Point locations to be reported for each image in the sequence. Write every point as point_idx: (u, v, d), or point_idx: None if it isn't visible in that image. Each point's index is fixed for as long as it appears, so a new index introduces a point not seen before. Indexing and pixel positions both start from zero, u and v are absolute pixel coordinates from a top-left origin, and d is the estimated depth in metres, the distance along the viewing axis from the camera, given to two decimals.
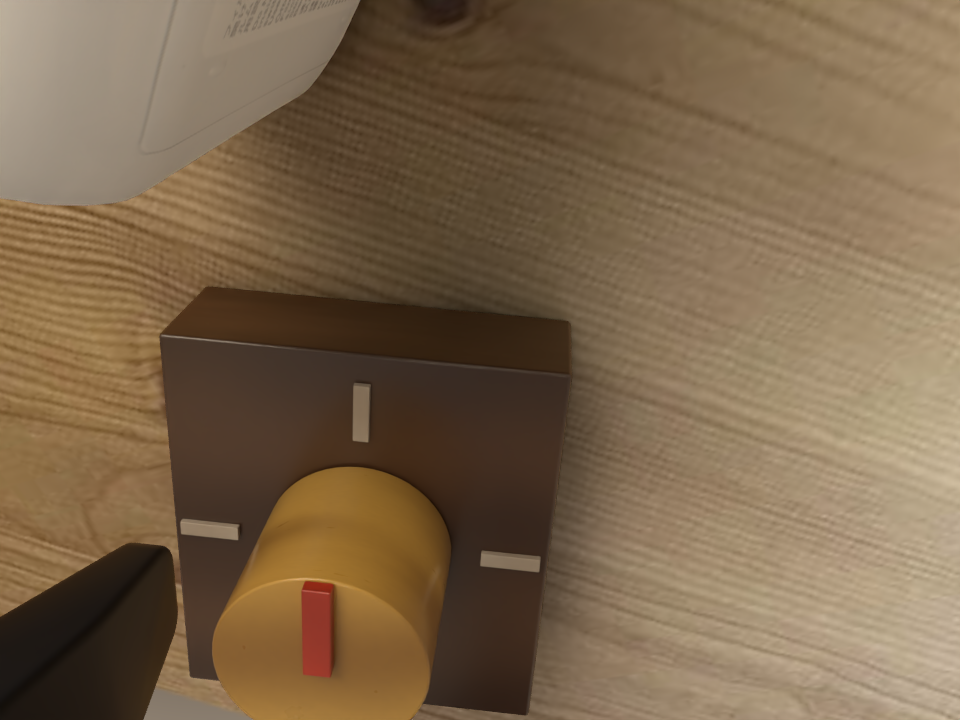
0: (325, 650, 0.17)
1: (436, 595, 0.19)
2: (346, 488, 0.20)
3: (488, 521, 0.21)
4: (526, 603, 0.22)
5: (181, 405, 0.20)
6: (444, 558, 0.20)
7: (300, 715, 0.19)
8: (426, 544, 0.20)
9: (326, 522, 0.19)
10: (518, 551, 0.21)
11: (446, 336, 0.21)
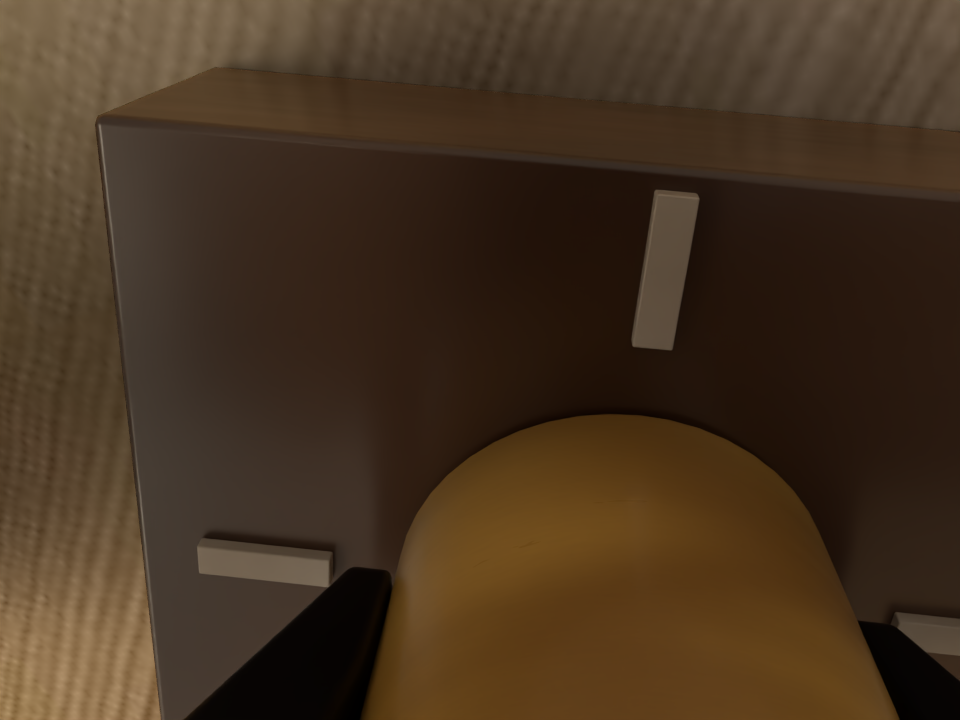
0: None
1: (566, 572, 0.07)
2: None
3: (539, 320, 0.08)
4: (823, 225, 0.08)
5: None
6: (574, 469, 0.08)
7: None
8: (481, 533, 0.07)
9: None
10: (636, 247, 0.08)
11: None
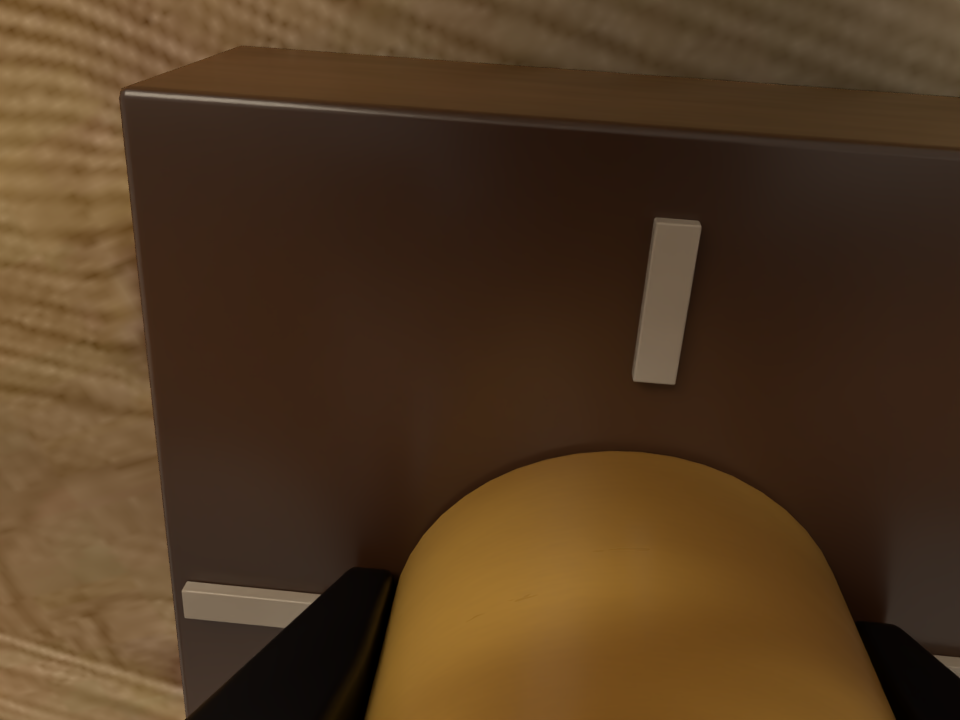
0: None
1: (565, 631, 0.06)
2: None
3: (947, 583, 0.09)
4: None
5: (181, 295, 0.08)
6: (573, 513, 0.07)
7: None
8: (474, 582, 0.07)
9: None
10: None
11: (860, 114, 0.08)
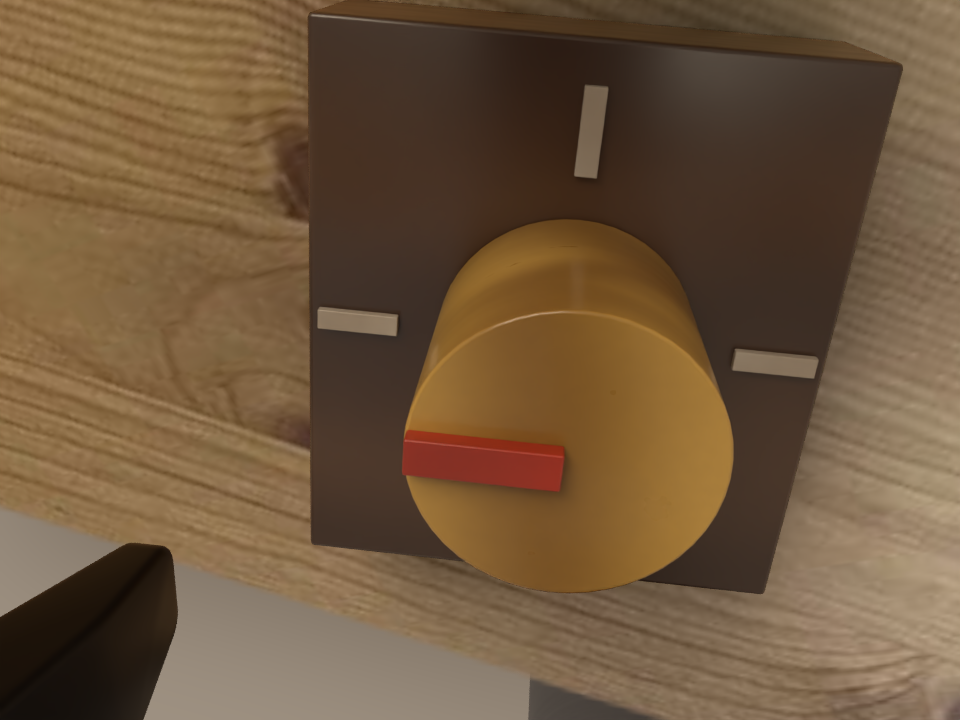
0: (508, 458, 0.12)
1: (533, 268, 0.13)
2: None
3: (750, 303, 0.15)
4: (787, 428, 0.16)
5: (331, 128, 0.15)
6: (540, 238, 0.14)
7: (663, 500, 0.12)
8: (489, 267, 0.14)
9: None
10: (786, 348, 0.16)
11: (701, 37, 0.15)
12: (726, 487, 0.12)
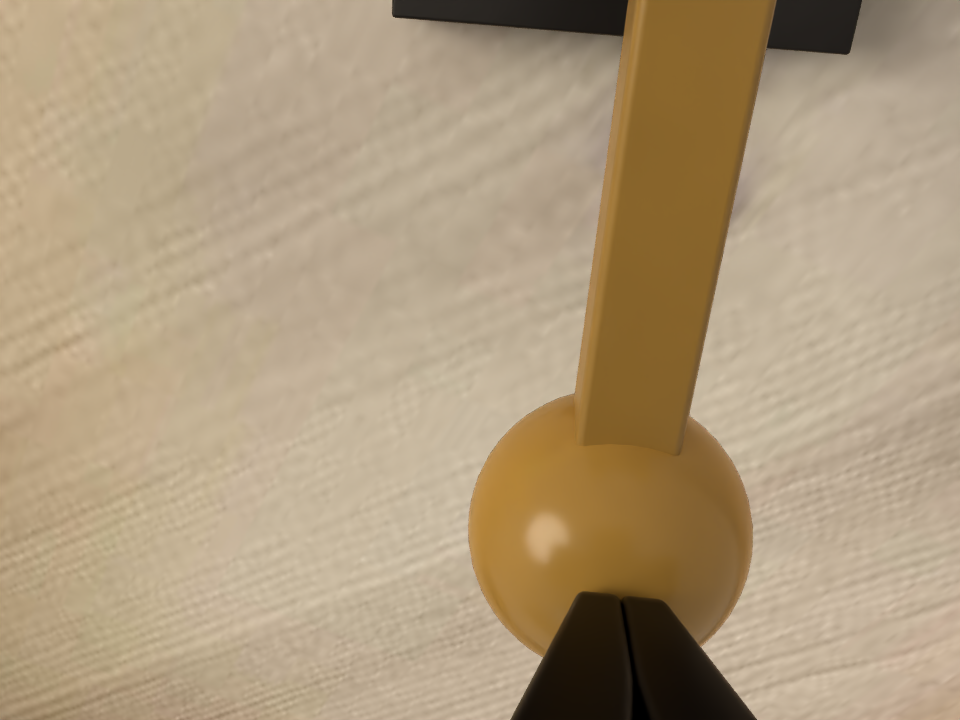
0: None
1: None
2: None
3: None
4: None
5: None
6: None
7: None
8: None
9: None
10: None
11: None
12: None
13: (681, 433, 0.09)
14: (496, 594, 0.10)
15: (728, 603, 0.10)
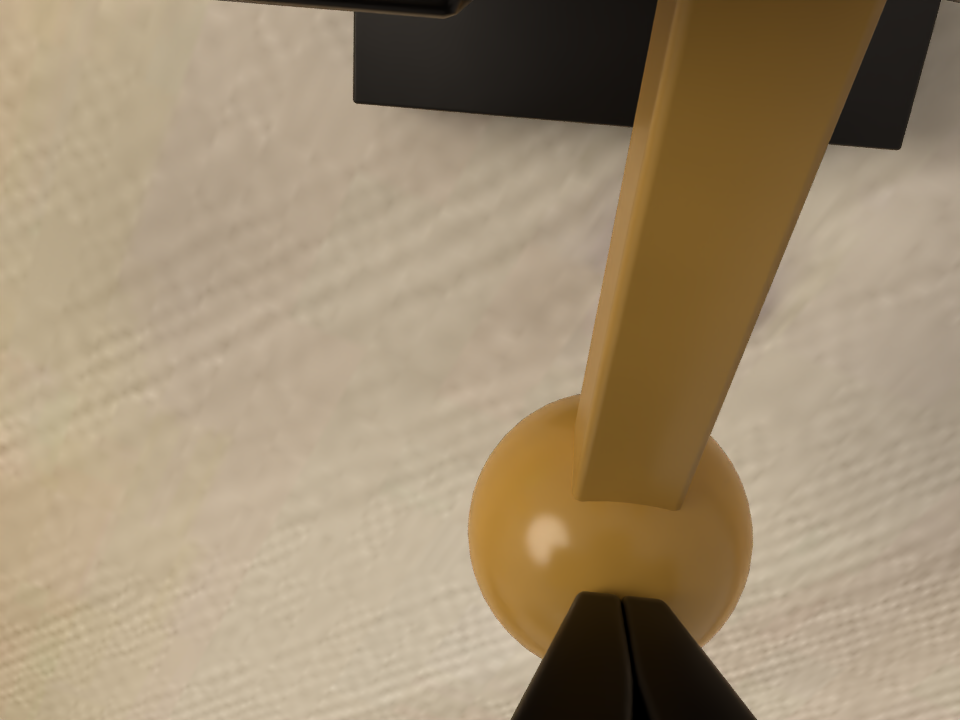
0: None
1: None
2: None
3: None
4: None
5: None
6: None
7: None
8: None
9: None
10: None
11: None
12: None
13: (682, 495, 0.09)
14: (494, 611, 0.10)
15: (720, 627, 0.10)
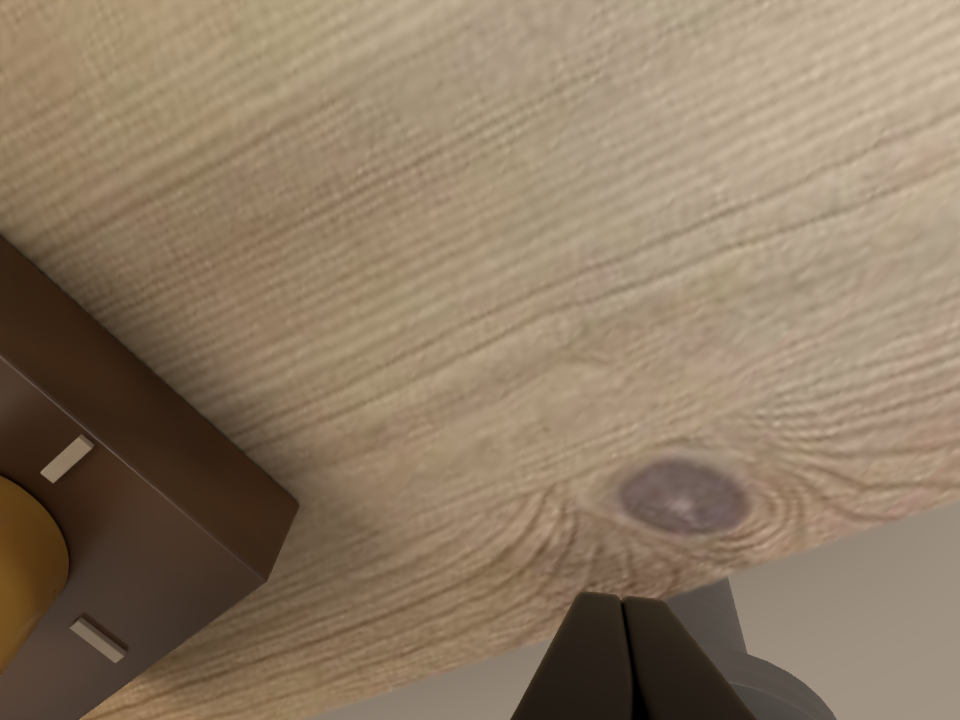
0: None
1: None
2: None
3: (14, 440, 0.19)
4: (130, 483, 0.20)
5: None
6: None
7: None
8: None
9: None
10: (64, 444, 0.19)
11: None
12: None
13: None
14: None
15: None
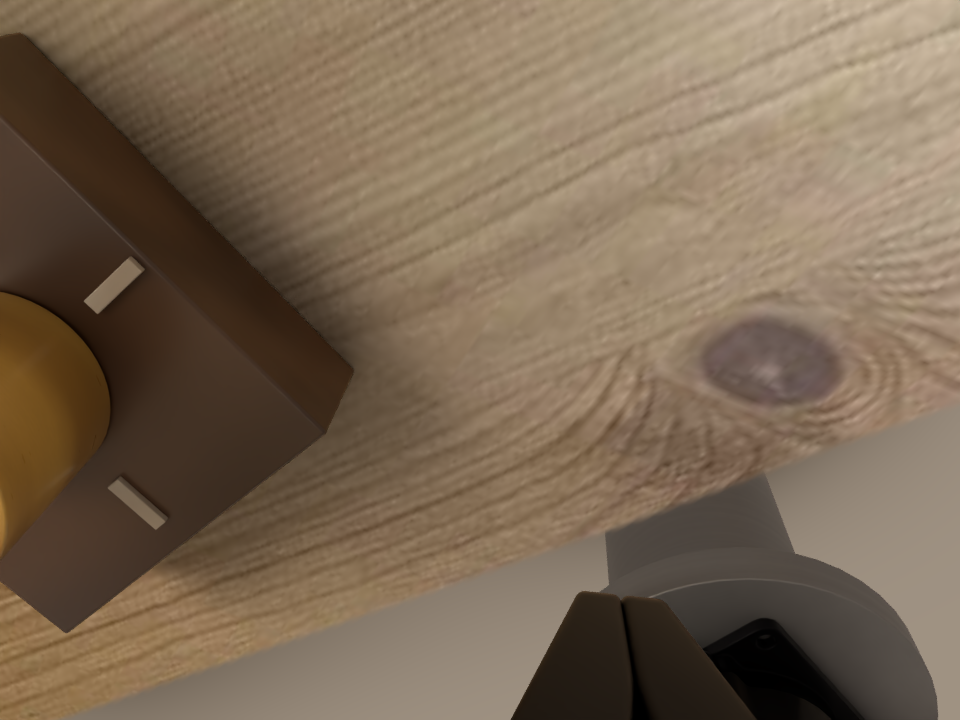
0: None
1: None
2: None
3: (57, 264, 0.18)
4: (181, 315, 0.18)
5: None
6: None
7: None
8: None
9: None
10: (111, 269, 0.18)
11: None
12: None
13: None
14: None
15: None
